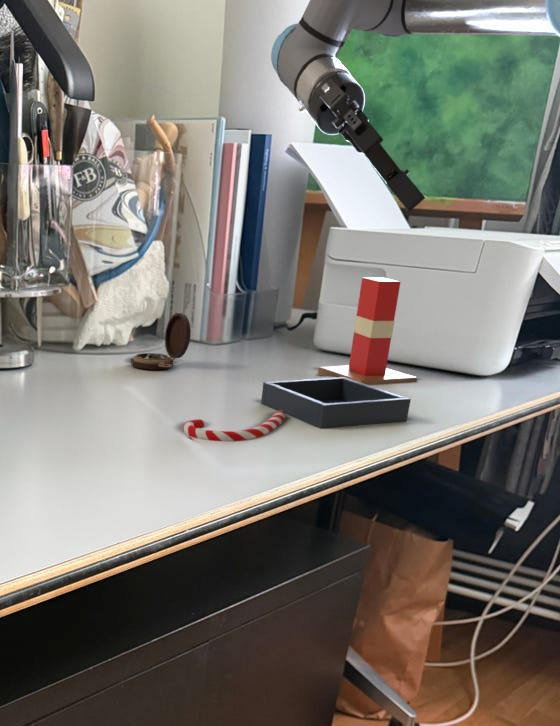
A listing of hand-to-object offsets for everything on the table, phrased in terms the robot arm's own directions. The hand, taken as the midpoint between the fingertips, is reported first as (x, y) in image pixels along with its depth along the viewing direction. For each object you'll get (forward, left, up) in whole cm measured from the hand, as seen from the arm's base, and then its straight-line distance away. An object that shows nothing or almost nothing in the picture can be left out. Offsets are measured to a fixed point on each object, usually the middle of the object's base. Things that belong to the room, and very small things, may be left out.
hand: (395, 176), depth 128 cm
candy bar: (-9, +7, -24) cm, 27 cm away
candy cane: (-29, +38, -25) cm, 54 cm away
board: (-9, +7, -25) cm, 28 cm away
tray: (-26, +24, -25) cm, 44 cm away
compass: (+6, +31, -25) cm, 41 cm away
